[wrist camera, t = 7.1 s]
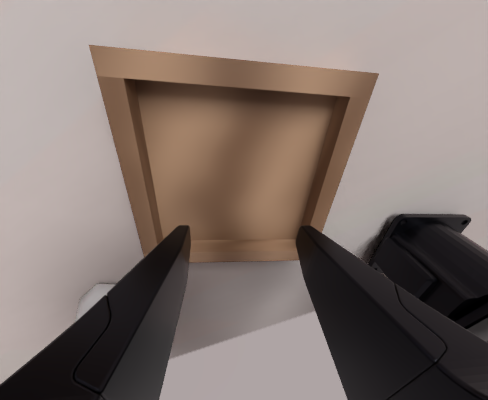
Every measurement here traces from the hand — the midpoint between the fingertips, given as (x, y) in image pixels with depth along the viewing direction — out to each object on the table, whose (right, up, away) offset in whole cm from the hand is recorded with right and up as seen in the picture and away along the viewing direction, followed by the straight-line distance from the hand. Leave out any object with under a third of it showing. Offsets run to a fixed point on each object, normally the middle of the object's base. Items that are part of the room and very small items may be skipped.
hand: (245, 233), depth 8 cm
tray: (-1, +3, +5) cm, 6 cm away
